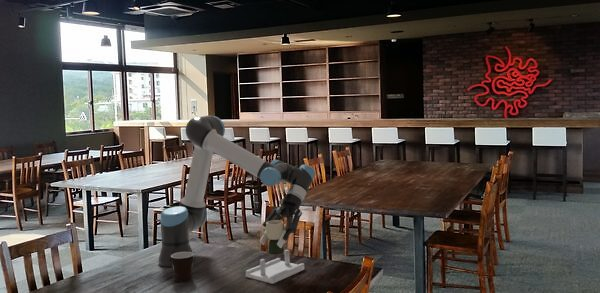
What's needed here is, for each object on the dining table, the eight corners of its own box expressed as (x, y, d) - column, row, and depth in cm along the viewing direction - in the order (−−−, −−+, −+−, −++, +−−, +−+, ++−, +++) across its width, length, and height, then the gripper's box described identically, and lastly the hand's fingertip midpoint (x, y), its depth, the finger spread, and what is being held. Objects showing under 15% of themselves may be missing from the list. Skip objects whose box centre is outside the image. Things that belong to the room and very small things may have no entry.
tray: (245, 276, 210) (245, 258, 210) (278, 263, 226) (277, 246, 225) (272, 283, 202) (271, 264, 201) (304, 269, 218) (303, 251, 217)
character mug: (289, 250, 217) (288, 219, 216) (289, 256, 210) (288, 223, 209) (263, 251, 217) (261, 220, 216) (262, 257, 210) (260, 224, 208)
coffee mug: (189, 284, 204) (188, 258, 203) (168, 283, 206) (167, 257, 205) (200, 274, 215) (199, 250, 214) (181, 273, 217) (179, 249, 216)
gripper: (318, 205, 217) (295, 253, 206) (279, 200, 230) (255, 245, 219) (310, 195, 212) (286, 243, 201) (270, 190, 225) (246, 235, 214)
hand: (270, 244), depth 210 cm, fingers closed on character mug, 8 cm apart
